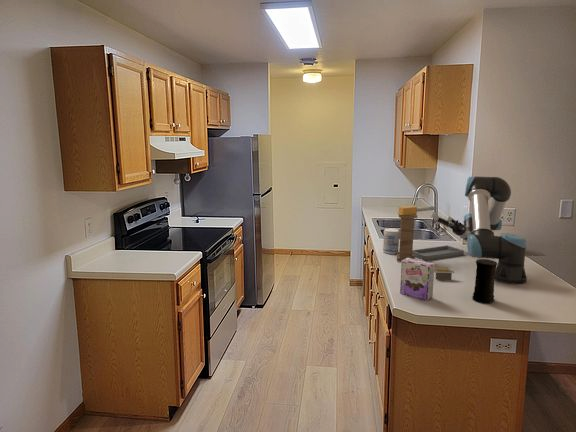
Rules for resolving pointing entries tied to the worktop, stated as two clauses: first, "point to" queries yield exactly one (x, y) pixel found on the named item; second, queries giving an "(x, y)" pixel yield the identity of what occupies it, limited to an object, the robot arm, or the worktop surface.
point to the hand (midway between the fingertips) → (439, 216)
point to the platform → (443, 273)
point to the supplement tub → (391, 241)
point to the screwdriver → (413, 209)
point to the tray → (437, 253)
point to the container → (484, 281)
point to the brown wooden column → (406, 236)
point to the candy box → (417, 278)
